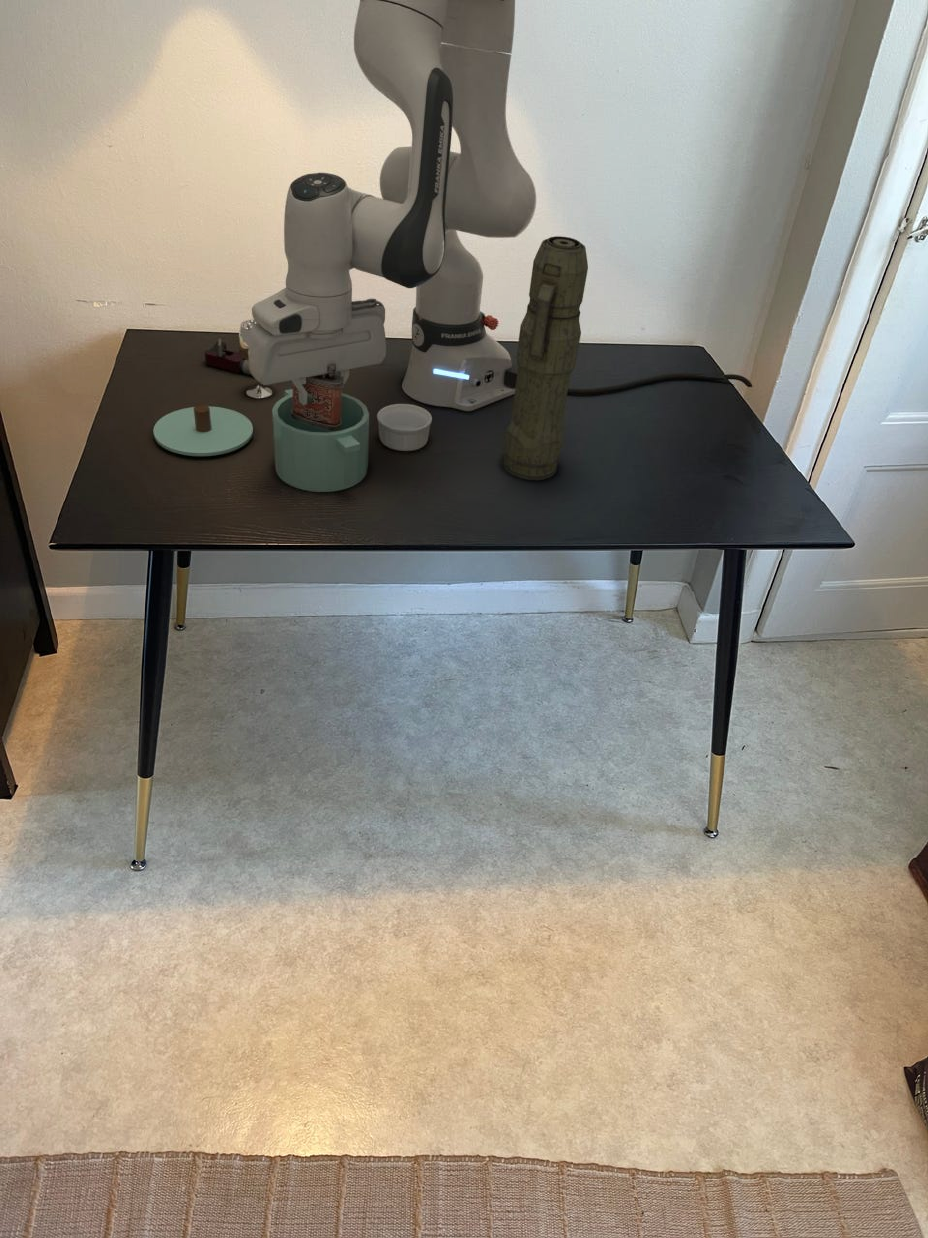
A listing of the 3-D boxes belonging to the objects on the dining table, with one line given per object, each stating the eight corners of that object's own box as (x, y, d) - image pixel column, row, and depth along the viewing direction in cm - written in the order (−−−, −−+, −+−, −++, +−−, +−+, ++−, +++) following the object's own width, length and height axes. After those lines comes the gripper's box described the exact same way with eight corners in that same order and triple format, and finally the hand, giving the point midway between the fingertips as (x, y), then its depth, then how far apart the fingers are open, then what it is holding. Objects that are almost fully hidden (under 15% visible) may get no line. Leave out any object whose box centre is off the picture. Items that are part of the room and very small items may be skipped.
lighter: (345, 425, 134) (348, 360, 128) (334, 433, 131) (336, 368, 125) (298, 409, 136) (299, 346, 130) (286, 418, 133) (286, 353, 127)
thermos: (493, 477, 141) (522, 248, 119) (511, 443, 150) (541, 224, 128) (548, 490, 140) (588, 260, 117) (563, 455, 149) (602, 235, 126)
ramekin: (417, 458, 144) (419, 434, 141) (367, 444, 145) (367, 420, 143) (438, 435, 150) (440, 411, 147) (390, 422, 152) (390, 398, 149)
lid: (230, 405, 151) (227, 379, 148) (269, 446, 142) (267, 419, 139) (140, 424, 144) (136, 397, 141) (175, 468, 135) (171, 440, 132)
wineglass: (268, 402, 154) (265, 334, 146) (236, 396, 154) (231, 328, 147) (281, 388, 158) (278, 321, 150) (250, 382, 159) (245, 315, 151)
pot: (332, 430, 148) (332, 376, 142) (392, 487, 136) (395, 430, 130) (252, 448, 141) (248, 392, 135) (309, 510, 130) (308, 451, 124)
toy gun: (257, 380, 159) (256, 354, 156) (198, 365, 162) (195, 339, 159) (283, 360, 167) (282, 335, 164) (226, 346, 169) (224, 321, 166)
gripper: (373, 288, 130) (371, 378, 138) (240, 308, 120) (246, 403, 129) (396, 304, 126) (392, 395, 135) (260, 325, 116) (265, 422, 125)
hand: (320, 399), depth 132 cm, fingers closed on lighter, 3 cm apart
